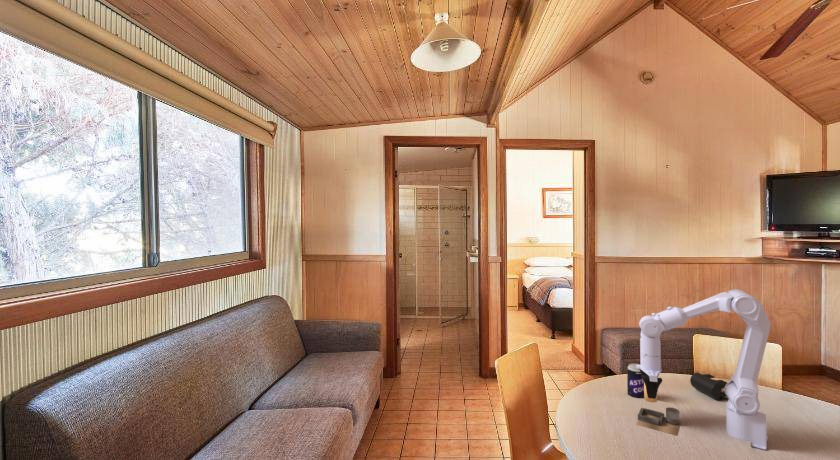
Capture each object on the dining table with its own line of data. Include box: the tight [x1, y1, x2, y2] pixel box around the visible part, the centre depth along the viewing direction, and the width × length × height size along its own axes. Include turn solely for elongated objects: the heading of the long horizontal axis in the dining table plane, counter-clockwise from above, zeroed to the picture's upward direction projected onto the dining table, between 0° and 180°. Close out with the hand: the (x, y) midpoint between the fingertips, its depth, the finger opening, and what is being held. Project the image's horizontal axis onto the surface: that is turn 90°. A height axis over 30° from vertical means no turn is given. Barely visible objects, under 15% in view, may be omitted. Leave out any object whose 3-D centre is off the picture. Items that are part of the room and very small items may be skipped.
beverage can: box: [626, 362, 644, 399], centre depth 145 cm, size 6×6×12 cm
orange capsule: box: [643, 383, 658, 403], centre depth 127 cm, size 4×4×6 cm
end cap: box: [689, 372, 729, 402], centre depth 146 cm, size 10×7×7 cm
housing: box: [636, 407, 682, 437], centre depth 125 cm, size 11×10×5 cm
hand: (650, 395), depth 127 cm, fingers closed on orange capsule, 4 cm apart
